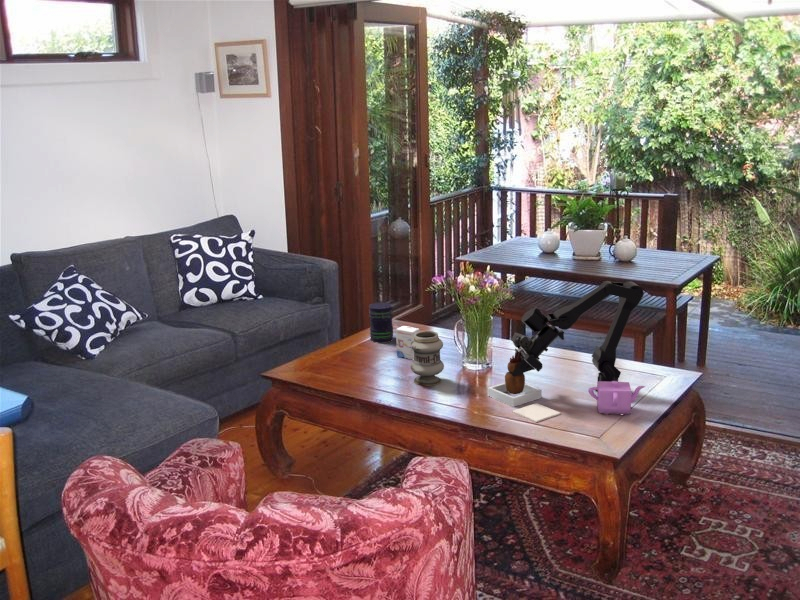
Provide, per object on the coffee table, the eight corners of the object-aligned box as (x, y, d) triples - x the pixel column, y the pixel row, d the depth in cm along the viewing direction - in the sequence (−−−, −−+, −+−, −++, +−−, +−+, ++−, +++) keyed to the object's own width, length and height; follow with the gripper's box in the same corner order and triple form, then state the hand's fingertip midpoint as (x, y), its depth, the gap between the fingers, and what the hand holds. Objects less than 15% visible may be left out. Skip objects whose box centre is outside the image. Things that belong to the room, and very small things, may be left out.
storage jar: (365, 340, 363) (364, 306, 359) (380, 334, 370) (379, 301, 366) (383, 344, 357) (381, 309, 353) (398, 338, 364) (397, 304, 360)
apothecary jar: (405, 384, 310) (404, 336, 305) (419, 373, 320) (418, 327, 316) (436, 388, 305) (435, 340, 300) (449, 377, 315) (448, 331, 311)
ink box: (395, 356, 341) (395, 328, 338) (403, 353, 344) (402, 325, 341) (413, 360, 336) (413, 331, 333) (420, 356, 340) (420, 328, 337)
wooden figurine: (524, 389, 297) (524, 348, 294) (525, 395, 292) (525, 353, 288) (504, 390, 298) (504, 348, 294) (505, 395, 292) (504, 353, 289)
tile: (560, 414, 279) (560, 412, 279) (536, 422, 273) (536, 421, 273) (536, 404, 288) (536, 402, 288) (512, 412, 282) (512, 410, 282)
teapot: (642, 404, 285) (643, 375, 283) (646, 421, 272) (648, 391, 270) (586, 402, 288) (587, 374, 286) (588, 418, 275) (589, 389, 273)
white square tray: (541, 397, 294) (541, 389, 293) (513, 406, 286) (513, 398, 286) (515, 387, 304) (515, 379, 303) (487, 395, 297) (487, 387, 296)
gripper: (519, 317, 298) (488, 350, 300) (532, 333, 280) (499, 367, 282) (541, 337, 301) (511, 369, 303) (556, 354, 283) (523, 388, 285)
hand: (510, 373), depth 293 cm, fingers closed on wooden figurine, 4 cm apart
